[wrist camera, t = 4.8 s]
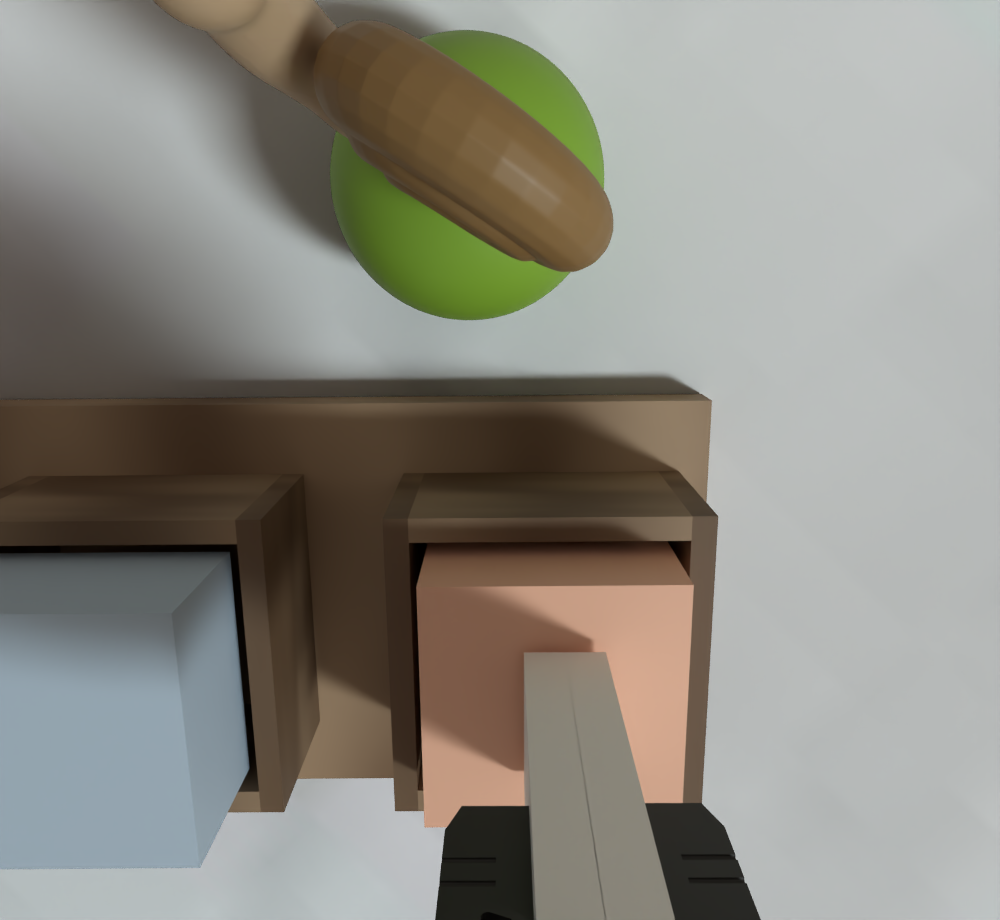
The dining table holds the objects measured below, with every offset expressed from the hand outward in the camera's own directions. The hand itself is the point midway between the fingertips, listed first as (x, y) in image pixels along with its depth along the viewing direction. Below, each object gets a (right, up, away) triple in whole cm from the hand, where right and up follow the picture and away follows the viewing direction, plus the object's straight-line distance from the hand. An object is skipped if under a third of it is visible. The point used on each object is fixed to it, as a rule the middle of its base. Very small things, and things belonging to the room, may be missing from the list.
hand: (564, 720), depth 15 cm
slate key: (-9, +1, +2) cm, 9 cm away
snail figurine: (-2, +11, +4) cm, 12 cm away
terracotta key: (0, +1, +3) cm, 3 cm away
